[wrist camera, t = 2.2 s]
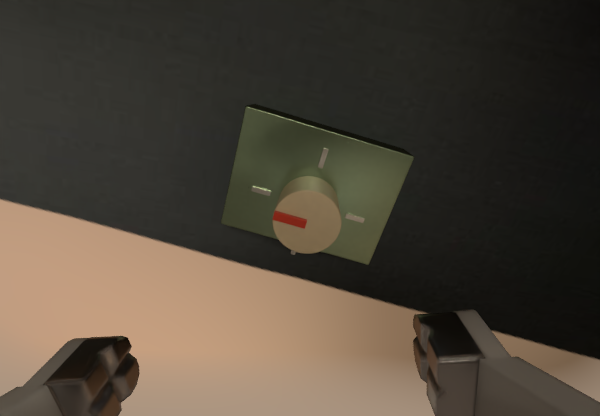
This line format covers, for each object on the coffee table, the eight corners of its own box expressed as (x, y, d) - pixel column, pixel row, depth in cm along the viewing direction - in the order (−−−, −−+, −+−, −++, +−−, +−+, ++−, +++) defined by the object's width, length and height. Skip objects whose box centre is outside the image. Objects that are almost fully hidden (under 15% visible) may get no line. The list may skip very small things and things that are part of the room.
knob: (346, 185, 22) (351, 203, 19) (327, 238, 24) (329, 264, 20) (287, 168, 22) (281, 182, 19) (272, 222, 24) (264, 245, 20)
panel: (403, 149, 24) (415, 157, 21) (360, 255, 28) (365, 274, 25) (254, 103, 24) (245, 105, 21) (228, 218, 27) (218, 233, 24)
